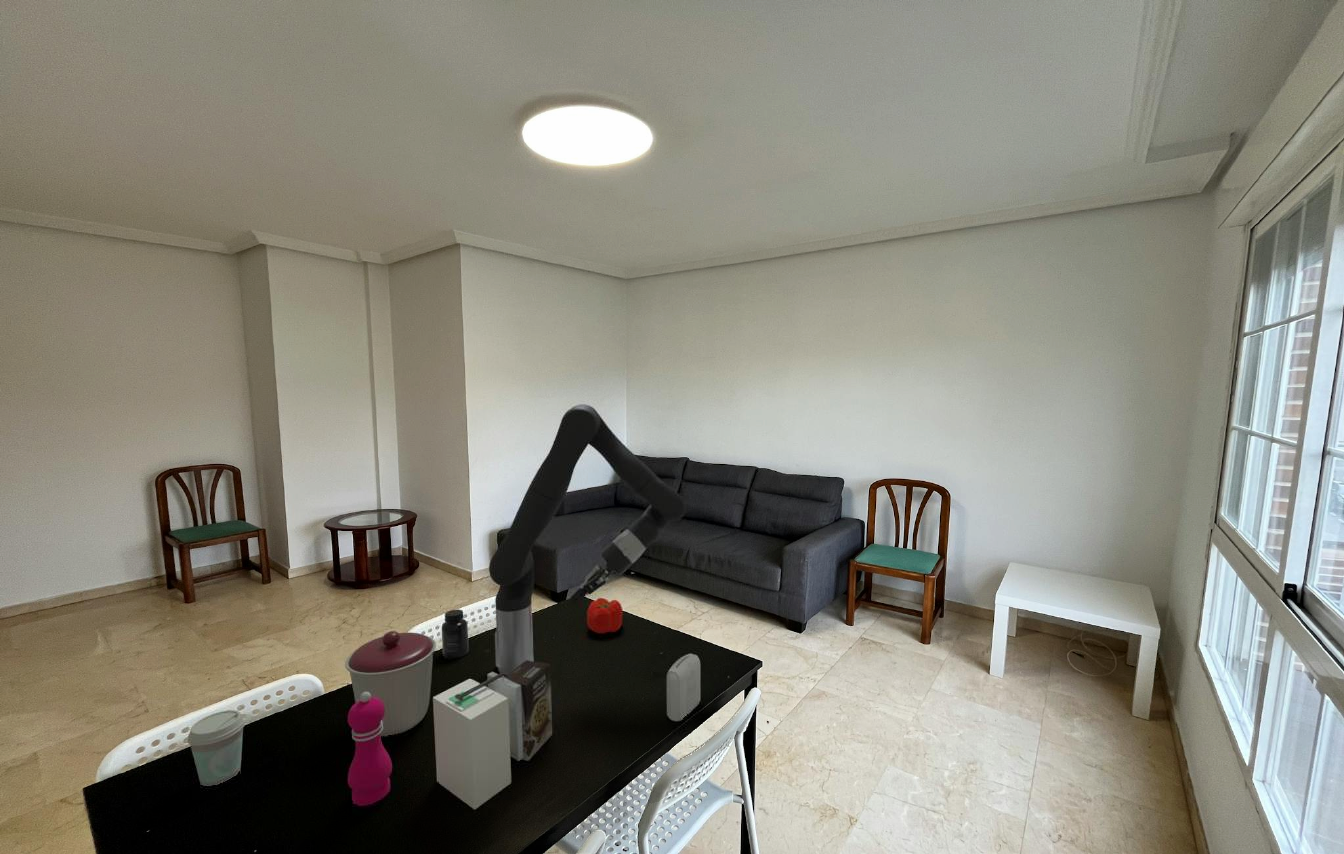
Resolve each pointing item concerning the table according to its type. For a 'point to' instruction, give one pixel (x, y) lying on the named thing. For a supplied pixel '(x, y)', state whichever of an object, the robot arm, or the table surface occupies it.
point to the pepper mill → (368, 752)
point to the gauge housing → (472, 742)
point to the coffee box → (534, 704)
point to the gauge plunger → (514, 708)
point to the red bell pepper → (604, 616)
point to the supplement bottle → (455, 635)
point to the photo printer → (683, 687)
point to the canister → (395, 677)
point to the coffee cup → (217, 746)
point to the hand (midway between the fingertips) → (571, 602)
